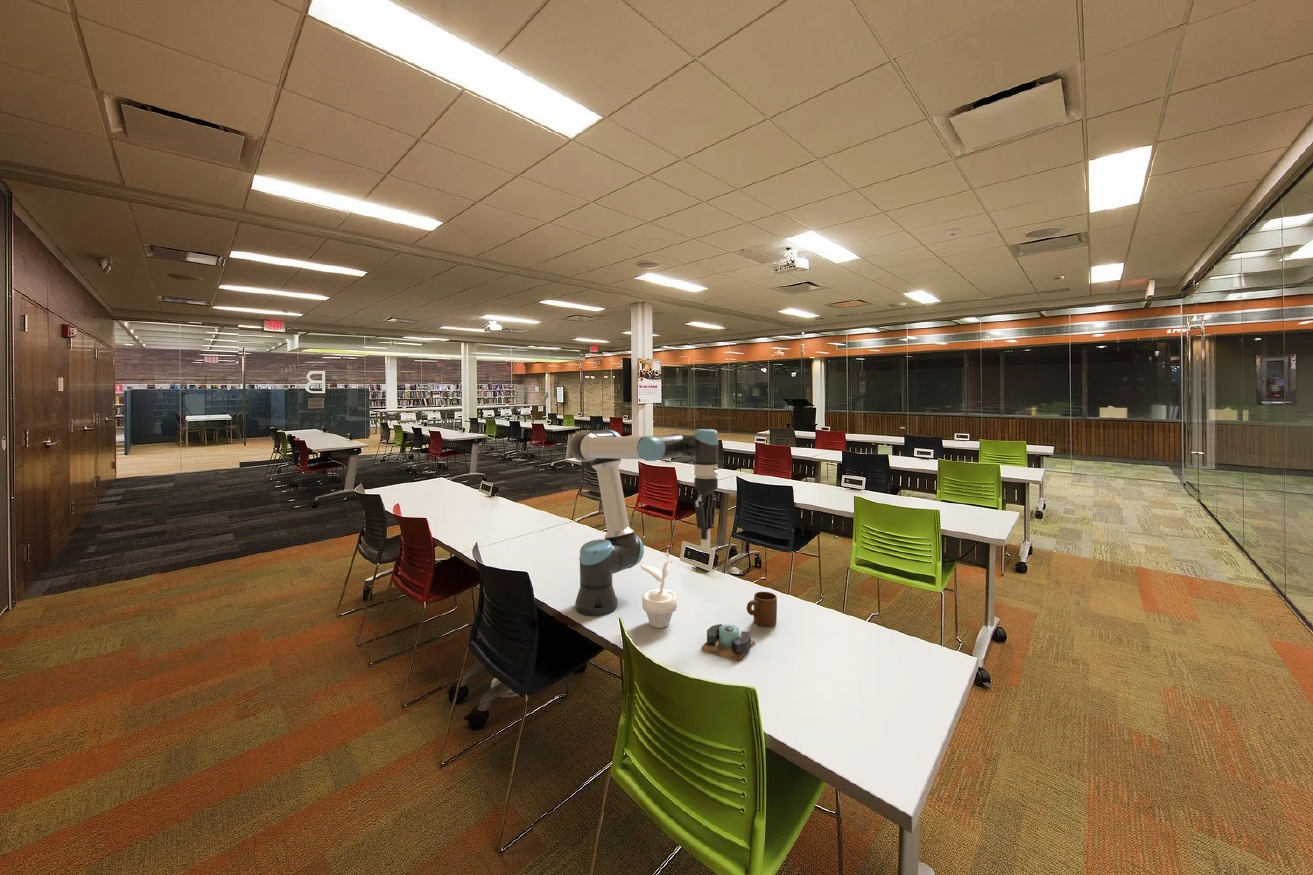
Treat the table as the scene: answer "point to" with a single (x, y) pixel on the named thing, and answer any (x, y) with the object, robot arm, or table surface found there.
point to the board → (725, 650)
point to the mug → (764, 609)
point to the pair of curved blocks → (737, 645)
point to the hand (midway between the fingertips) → (705, 548)
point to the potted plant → (659, 598)
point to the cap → (728, 635)
